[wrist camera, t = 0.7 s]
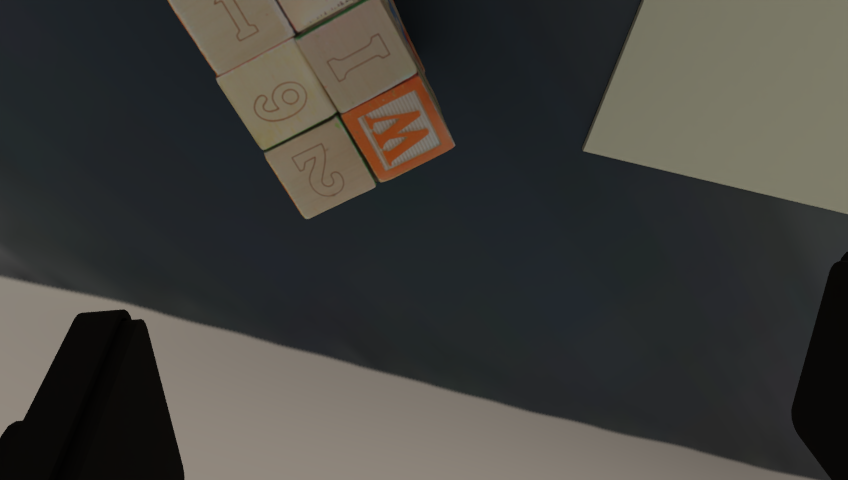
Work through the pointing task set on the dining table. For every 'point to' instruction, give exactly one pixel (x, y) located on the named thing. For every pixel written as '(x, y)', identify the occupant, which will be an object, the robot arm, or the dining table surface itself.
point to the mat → (734, 96)
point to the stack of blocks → (322, 90)
